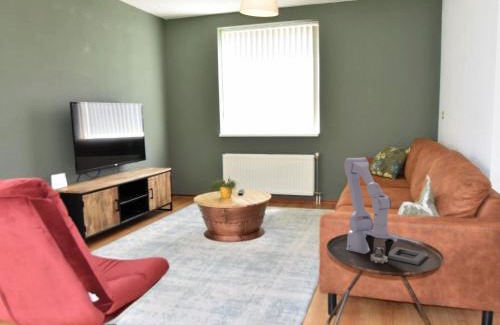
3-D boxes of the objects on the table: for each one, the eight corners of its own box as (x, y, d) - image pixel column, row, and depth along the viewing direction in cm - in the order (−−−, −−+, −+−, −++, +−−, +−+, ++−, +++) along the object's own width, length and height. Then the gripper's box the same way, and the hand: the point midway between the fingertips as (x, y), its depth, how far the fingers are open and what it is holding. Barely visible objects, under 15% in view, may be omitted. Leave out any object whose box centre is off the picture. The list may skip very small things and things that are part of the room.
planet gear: (367, 260, 179) (368, 248, 178) (374, 256, 185) (374, 244, 184) (383, 264, 175) (384, 252, 174) (389, 260, 180) (390, 247, 180)
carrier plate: (385, 257, 183) (385, 254, 183) (396, 249, 194) (396, 246, 194) (417, 265, 174) (417, 261, 174) (427, 256, 185) (427, 253, 185)
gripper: (360, 222, 179) (359, 252, 181) (393, 228, 170) (392, 260, 172) (367, 219, 185) (366, 248, 186) (399, 225, 176) (398, 255, 177)
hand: (379, 254), depth 179 cm, fingers open, 6 cm apart
